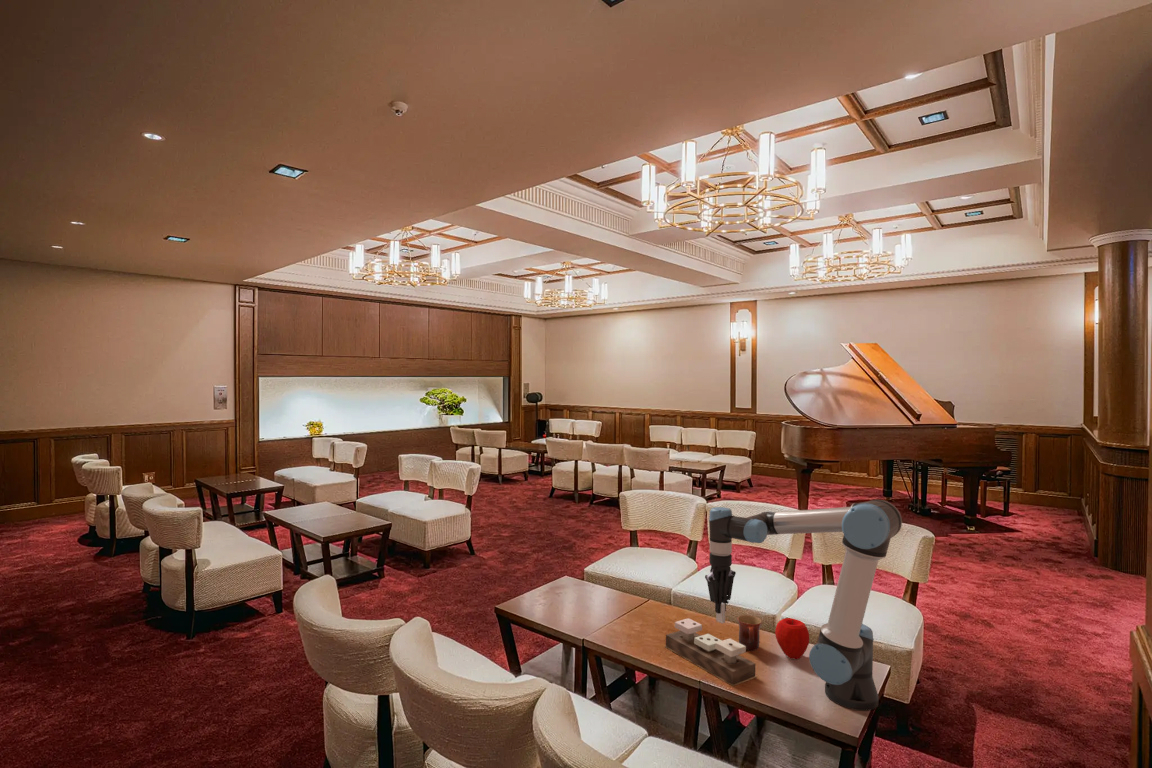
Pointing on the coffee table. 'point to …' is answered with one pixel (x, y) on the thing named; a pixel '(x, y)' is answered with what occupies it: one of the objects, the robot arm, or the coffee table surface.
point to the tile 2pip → (688, 628)
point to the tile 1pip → (730, 649)
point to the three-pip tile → (706, 642)
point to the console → (711, 660)
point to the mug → (749, 631)
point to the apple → (792, 637)
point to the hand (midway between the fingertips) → (720, 621)
